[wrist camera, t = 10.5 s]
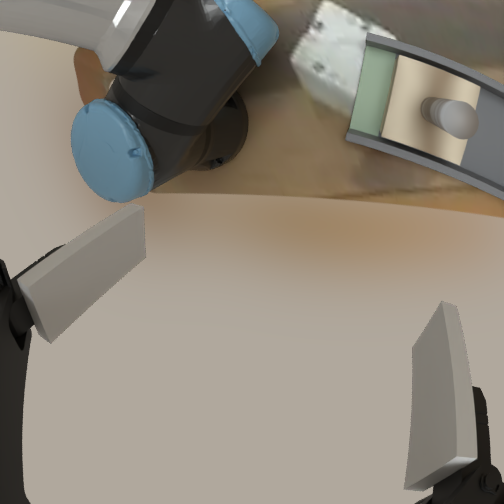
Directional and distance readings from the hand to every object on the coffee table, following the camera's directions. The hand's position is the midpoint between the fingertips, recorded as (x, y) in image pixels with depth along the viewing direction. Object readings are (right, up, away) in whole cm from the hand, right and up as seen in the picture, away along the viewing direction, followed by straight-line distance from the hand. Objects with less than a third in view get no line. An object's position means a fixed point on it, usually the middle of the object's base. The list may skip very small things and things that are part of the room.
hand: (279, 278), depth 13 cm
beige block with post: (+21, +20, +21) cm, 36 cm away
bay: (+27, +19, +20) cm, 39 cm away
